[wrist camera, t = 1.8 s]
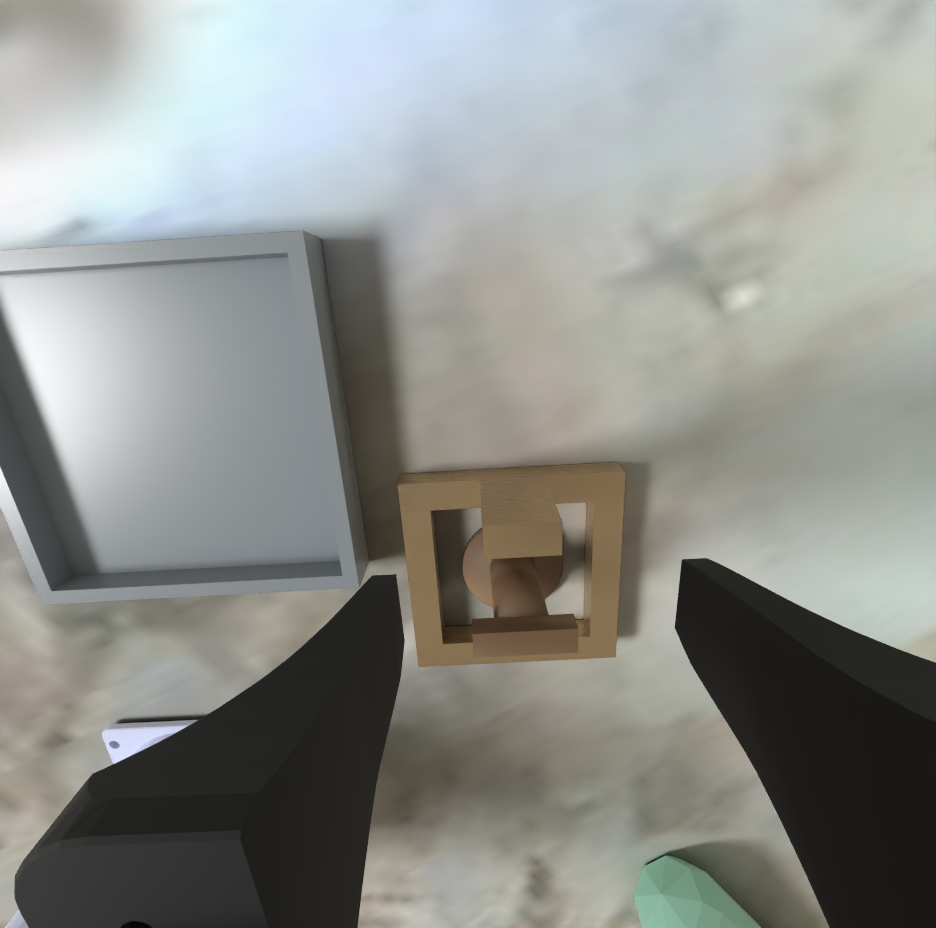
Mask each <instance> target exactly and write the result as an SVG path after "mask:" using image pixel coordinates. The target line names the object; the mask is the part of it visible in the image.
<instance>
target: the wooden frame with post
mask: <svg viewBox="0 0 936 928" xmlns="http://www.w3.org/2000/svg"><path fill="white" fill-rule="evenodd" d="M625 475H626V472H625V470H624V469H623V468H622V467H621V466H620V465H619V464H618V463H617V462H605V463H588V464H570V465H553V466H535V467H518V468H500V469H482V470H465V471H447V472H430V473H412V474H401V476H400V479H399V482H398V484H397V486H398V494H399V503H400V511H401V520H402V528H403V537H404V545H405V554H406V562H407V571H408V579H409V588H410V596H411V605H412V614H413V622H414V631H415V639H416V648H417V656H418V665H419V667H427V666H447V665H467V664H487V663H507V662H527V661H547V660H567V659H587V658H607V657H616V642H617V624H618V605H619V587H620V568H621V549H622V531H623V512H624V494H625ZM576 502H587V506H586V546H585V585H584V620H576V623H577V626H578V653H562V654H542V655H521V656H501V657H481V658H474V651H473V636H472V625H467V626H448V627H444V621H443V610H442V599H441V588H440V577H439V566H438V555H437V545H436V534H435V523H434V512H433V510H450V509H468V508H481V516H482V531H483V545H484V559H501V558H520V557H538V556H557V555H562V519H561V517H560V515H559V513H558V510H557V508H556V506H555V504H558V503H576Z"/></svg>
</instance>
